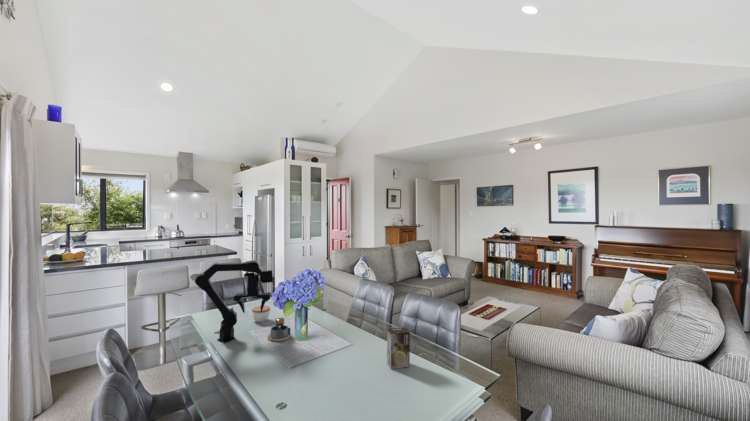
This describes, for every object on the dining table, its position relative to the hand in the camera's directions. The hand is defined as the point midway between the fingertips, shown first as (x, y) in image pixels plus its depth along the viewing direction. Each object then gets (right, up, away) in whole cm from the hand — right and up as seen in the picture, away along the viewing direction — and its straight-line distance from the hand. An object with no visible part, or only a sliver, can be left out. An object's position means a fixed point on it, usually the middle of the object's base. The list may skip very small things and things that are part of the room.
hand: (252, 312), depth 176 cm
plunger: (+15, -12, -1) cm, 19 cm away
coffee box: (+78, -15, -29) cm, 84 cm away
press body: (+15, -13, -1) cm, 20 cm away
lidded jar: (-4, -13, +24) cm, 28 cm away
